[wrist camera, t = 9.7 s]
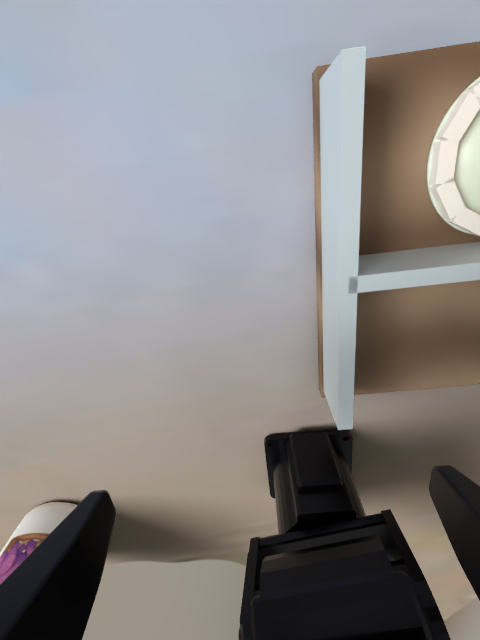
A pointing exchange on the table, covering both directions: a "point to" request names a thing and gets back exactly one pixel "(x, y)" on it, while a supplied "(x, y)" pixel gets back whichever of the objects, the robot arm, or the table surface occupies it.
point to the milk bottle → (31, 534)
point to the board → (397, 222)
